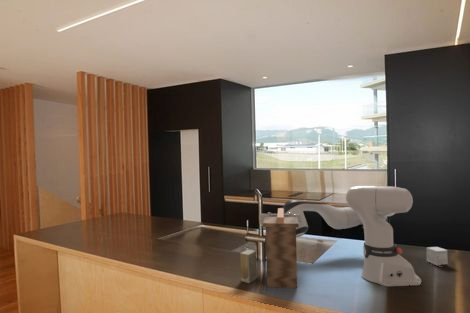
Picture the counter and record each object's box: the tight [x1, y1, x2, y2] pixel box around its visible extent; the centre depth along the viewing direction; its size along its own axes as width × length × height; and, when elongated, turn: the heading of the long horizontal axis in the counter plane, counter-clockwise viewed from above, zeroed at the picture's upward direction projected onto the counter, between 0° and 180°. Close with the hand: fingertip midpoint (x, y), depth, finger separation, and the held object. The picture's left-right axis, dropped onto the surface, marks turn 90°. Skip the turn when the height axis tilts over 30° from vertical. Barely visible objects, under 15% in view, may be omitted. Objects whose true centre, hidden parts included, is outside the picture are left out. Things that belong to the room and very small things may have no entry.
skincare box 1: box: [239, 249, 258, 284], centre depth 133 cm, size 6×4×12 cm
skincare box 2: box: [426, 246, 449, 265], centre depth 147 cm, size 6×6×7 cm
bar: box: [277, 207, 284, 224], centre depth 134 cm, size 2×21×2 cm, turn 171°
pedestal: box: [262, 217, 299, 289], centre depth 130 cm, size 14×12×26 cm
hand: (280, 214), depth 143 cm, fingers open, 8 cm apart
